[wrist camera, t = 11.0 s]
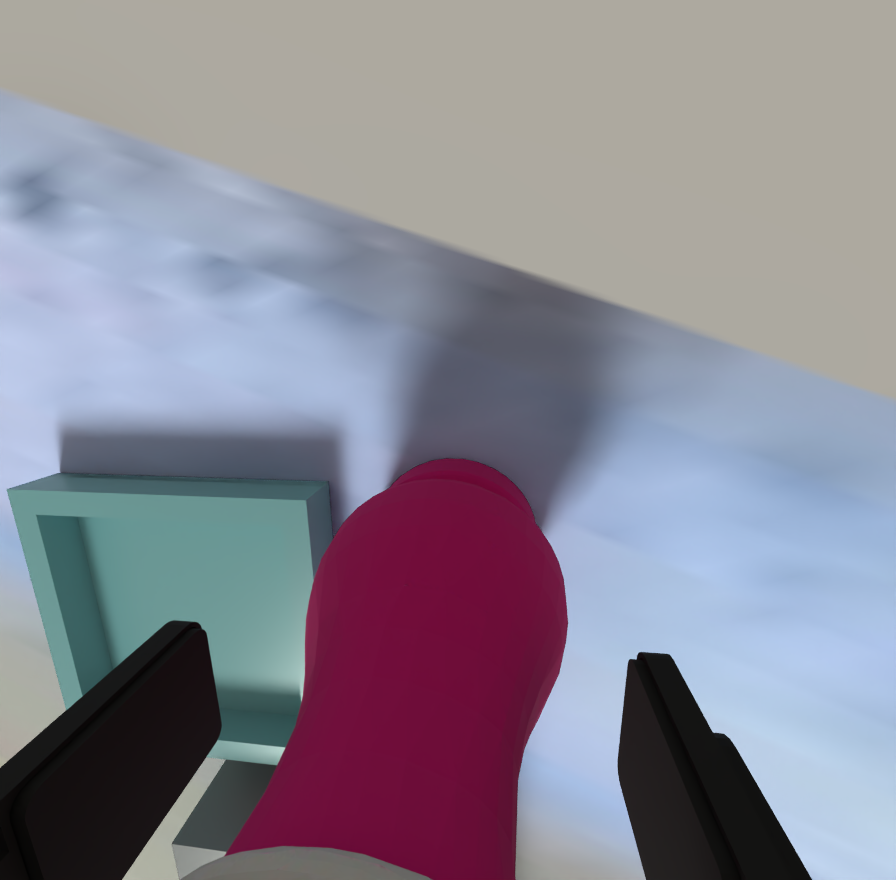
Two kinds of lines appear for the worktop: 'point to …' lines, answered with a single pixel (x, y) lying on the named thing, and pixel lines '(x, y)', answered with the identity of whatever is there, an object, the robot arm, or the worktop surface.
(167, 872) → the worktop surface
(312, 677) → the pepper mill
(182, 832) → the breaker panel
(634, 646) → the worktop surface
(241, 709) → the tray
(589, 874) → the worktop surface
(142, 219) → the worktop surface
